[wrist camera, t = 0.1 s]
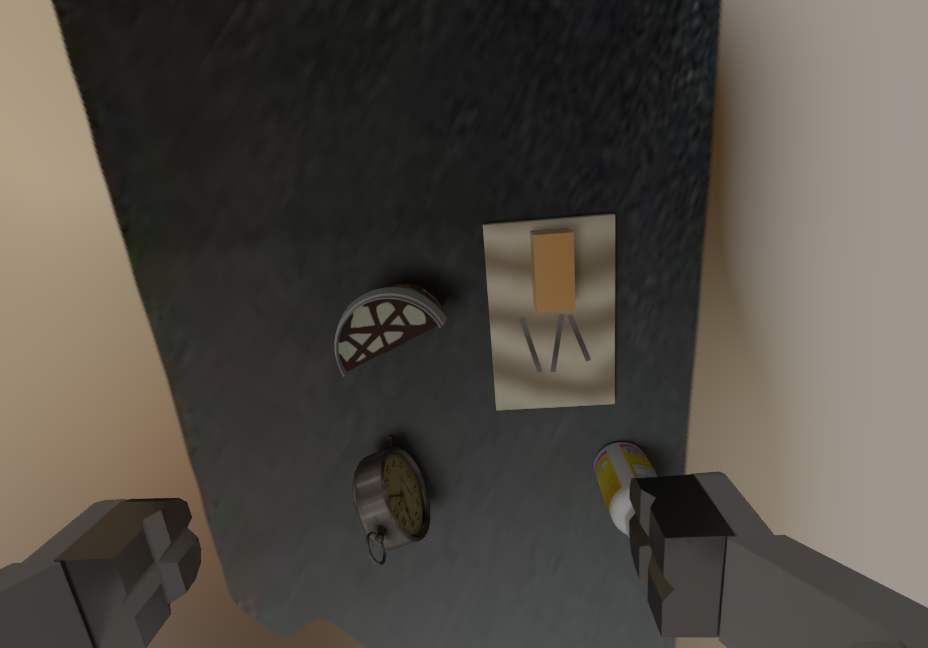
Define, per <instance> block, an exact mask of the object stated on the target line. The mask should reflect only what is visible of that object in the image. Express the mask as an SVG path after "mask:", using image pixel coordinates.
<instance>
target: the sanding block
mask: <svg viewBox="0 0 928 648" xmlns="http://www.w3.org/2000/svg"><path fill="white" fill-rule="evenodd" d="M530 241H531V263H532V285H533V303H534V306H535V309H536V312H552V311H566V310H575V263H574V232H573V231H571V230H570V229H568V228H561V229H548V230H536V231H530Z"/></svg>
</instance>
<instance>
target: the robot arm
mask: <svg viewBox="0 0 928 648" xmlns="http://www.w3.org/2000/svg"><path fill="white" fill-rule="evenodd" d="M629 499H630V501H631V504H632V506H633V509H634V511H635V514H634V515H633V516H632V517H631V519H630V520H629V538H630V546H631V554H632V558H633V561H634V565H635V568H636V571H637V574H638V577H639V579H640V580H642V581H643V582H644V583H646V584H647V585H648V600H647V601H648V603H649V606H650V609H651V611H652V614H653V616H654V619H655V622H656V624H657V627H658V629H659V632H660V635H661V637H719V641H720V642H722V643H723V644H724V645H725V646H726V647H727V648H928V608H927V607H924V606H923V605H921V604H919V603H917V602H915V601H913V600H911V599H909V598H907V597H905V596H903V595H901V594H899V593H897V592H895V591H893V590H892V589H890V588H888V587H885V586H884V585H882V584H879V583H878V582H876V581H874V580H872V579H870V578H868V577H866V576H864V575H862V574H860V573H858V572H856V571H854V570H852V569H850V568H848V567H846V566H844V565H842V564H841V563H839V562H837V561H835V560H833V559H831V558H829V557H827V556H825V555H823V554H821V553H819V552H817V551H815V550H813V549H811V548H809V547H807V546H805V545H803V544H801V543H799V542H797V541H795V540H793V539H792V538H790V537H787V536H786V535H774V534H773V533H772V532H771V530H770V529H769V528H768V526H767V525H766V524H765V523H764V521H763V520H762V519H761V518H760V517H759V515H758V514H757V513H756V512H755V510H754V509H753V508H752V507H751V505H750V504H749V503H748V502H747V501H746V499H745V498H744V497H743V496H742V495H741V493H740V492H739V491H738V490H737V488H736V487H735V486H734V484H733V483H732V482H731V481H730V480H729V478H728V477H727V476H726V475H725V474H723V473H721V472H710V473H696V474H690V475H676V476H659V477H643V478H631V482H630V492H629ZM191 519H192V515H191V512H190V509H189V506H188V504H187V502H186V501H184V500H182V499H180V498H153V499H129V500H127V499H117V500H104V501H100V502H96V503H94V504H92V505H91V506H90V507H89V508H88V509H86V510H85V511H84V512H83V513H81V514H80V515H79V516H78V517H77V518H75V519H74V520H73V521H72V522H71V523H69V524H68V525H67V526H66V527H64V528H63V529H62V530H61V531H60V532H58V533H57V534H56V535H55V536H53V538H51V539H50V540H49V541H47V542H46V543H45V544H44V545H43V546H41V547H40V548H39V549H38V550H37V551H35V552H34V553H33V554H32V555H30V556H29V557H28V558H27V559H25V560H24V561H23V562H22V563H12V564H10V565H8V566H6V567H4V568H2V569H0V648H147V646H148V645H149V643H150V642H151V641H152V639H153V638H154V637H155V635H156V634H157V633H158V631H159V630H160V628H161V627H162V626H163V624H164V623H165V622H166V620H167V619H168V617H169V616H170V615H171V609H170V604H171V603H172V602H173V601H175V600H176V599H178V598H179V597H181V596H182V595H184V594H185V593H186V592H187V591H188V590H189V588H190V586H191V585H192V584H193V582H194V581H195V579H196V576H197V573H198V570H199V567H200V564H201V547H200V543H199V540H198V537H197V536H196V535H195V534H194V533H193V532H191V531H190V530H189V529H188V528H187V527H188V525H189V523H190V521H191Z"/></svg>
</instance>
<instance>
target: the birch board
mask: <svg viewBox="0 0 928 648" xmlns="http://www.w3.org/2000/svg"><path fill="white" fill-rule="evenodd" d="M561 228H568V229H570V230H571V231H573V232H574V263H575V310H566V311H552V312H536V309H535V306H534V303H533V285H532V263H531V241H530V231H536V230H548V229H561ZM483 234H484V248H485V261H486V275H487V289H488V303H489V316H490V330H491V344H492V358H493V371H494V385H495V399H496V410H514V409H532V408H550V407H568V406H586V405H605V404H615V214H599V215H587V216H575V217H563V218H550V219H538V220H526V221H514V222H501V223H489V224H483Z"/></svg>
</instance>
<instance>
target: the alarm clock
mask: <svg viewBox="0 0 928 648" xmlns="http://www.w3.org/2000/svg"><path fill="white" fill-rule="evenodd" d="M388 440H389V448H387V449H384V450H382V451H379V452H377V453H374V454H371V455H369V456H367V457H365V458H364V459H363V460H362V461H361V462H360V463H359V465H358V466H357V469H356V471H355V474H354V479H353V499H354V506H355V510H356V513H357V516H358V519H359V521H360V524H361V526H362V528H363V530H364V531H365V533H366V534H367V537H366V549H367V552H368V554H369V557H370V558H371V560H372V561H373V562H374V563H375V564H376V565H379V566H381V565H383V564H384V563H385V558H386V552H385V549H387V550H392V549H396V548H399V547H402V546H405V545H408V544H411V543H414V542H417V541H420V540H422V539H423V538H424V537H425V535H426V534H427V531H428V529H429V525H430V503H429V497H428V492H427V488H426V485H425V482H424V479H423V476H422V474H421V472H420V470H419V468H418V466H417V464H416V463H415V461H414V459H413V458H412V457H411V456H410V454H409V453H407V452H406V451H405V450H404V449H402V448H401V447H398V446H394V444H393V441H392V440H393V436H391V435H390V436H389V437H388ZM369 538H370V539H371V540H372V541H373V542H374V543H375V544H376V545H378V546H379V547H381V548H382V550H383V560H382V562H378V561H376V560H375V558H374V557H373V556H372V554H371V551H370V547H369Z"/></svg>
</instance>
